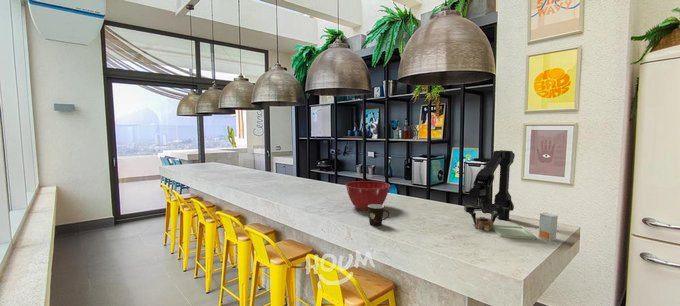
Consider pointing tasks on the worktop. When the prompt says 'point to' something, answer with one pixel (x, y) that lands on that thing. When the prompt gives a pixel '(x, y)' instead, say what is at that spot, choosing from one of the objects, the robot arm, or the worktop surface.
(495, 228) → the tray
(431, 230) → the worktop surface
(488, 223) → the wooden lantern frame
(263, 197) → the worktop surface
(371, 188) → the mixing bowl
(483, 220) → the grey upright post
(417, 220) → the worktop surface
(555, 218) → the skincare box
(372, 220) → the coffee mug
